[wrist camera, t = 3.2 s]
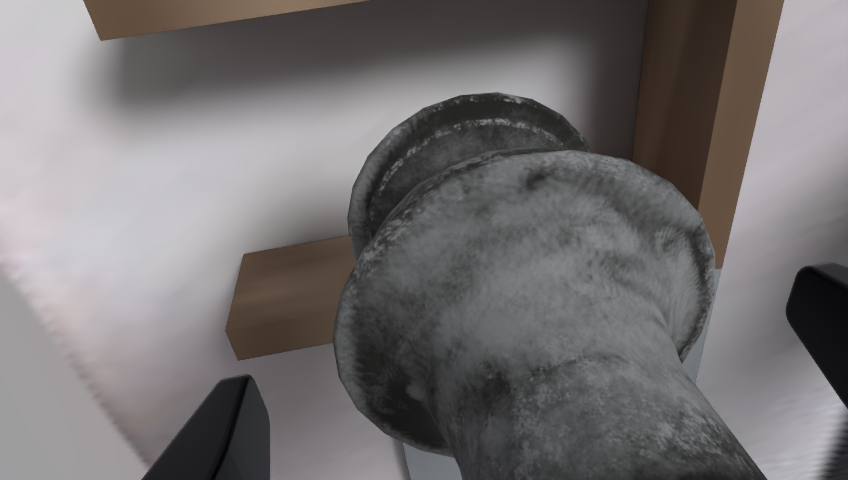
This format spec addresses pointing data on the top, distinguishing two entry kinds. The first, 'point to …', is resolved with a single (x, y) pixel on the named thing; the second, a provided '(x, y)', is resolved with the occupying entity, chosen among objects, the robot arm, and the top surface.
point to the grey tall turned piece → (528, 302)
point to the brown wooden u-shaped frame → (653, 150)
